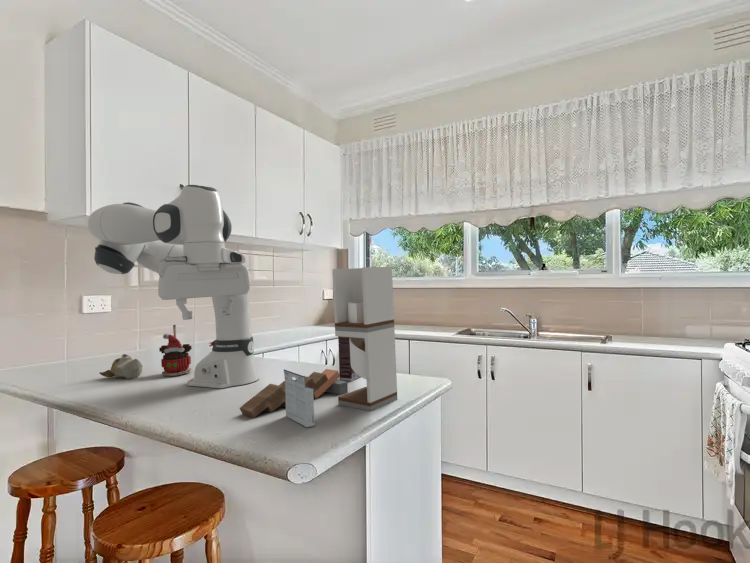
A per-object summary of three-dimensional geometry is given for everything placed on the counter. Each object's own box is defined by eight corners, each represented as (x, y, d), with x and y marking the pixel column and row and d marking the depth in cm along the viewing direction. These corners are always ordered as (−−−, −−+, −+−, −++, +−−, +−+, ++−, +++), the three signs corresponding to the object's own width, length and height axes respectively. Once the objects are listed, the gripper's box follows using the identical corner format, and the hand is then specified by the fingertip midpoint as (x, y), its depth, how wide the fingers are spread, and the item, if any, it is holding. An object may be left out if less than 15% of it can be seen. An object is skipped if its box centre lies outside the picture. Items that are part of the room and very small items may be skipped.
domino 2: (268, 406, 109) (297, 382, 115) (256, 403, 112) (285, 379, 119) (271, 412, 109) (300, 388, 116) (260, 409, 113) (288, 385, 119)
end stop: (339, 394, 123) (339, 384, 123) (316, 389, 130) (316, 379, 130) (347, 392, 125) (347, 381, 125) (324, 387, 132) (324, 377, 132)
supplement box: (352, 381, 137) (349, 331, 137) (339, 380, 140) (336, 330, 139) (365, 375, 145) (363, 327, 145) (353, 374, 147) (351, 327, 147)
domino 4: (300, 396, 116) (325, 373, 122) (288, 394, 119) (313, 371, 126) (303, 402, 117) (328, 379, 123) (291, 399, 120) (316, 377, 126)
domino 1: (250, 411, 105) (281, 386, 112) (239, 407, 108) (270, 383, 115) (253, 418, 106) (284, 392, 112) (242, 414, 109) (273, 389, 116)
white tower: (366, 393, 123) (360, 268, 122) (397, 399, 116) (391, 266, 116) (338, 404, 114) (332, 269, 113) (370, 411, 107) (364, 267, 106)
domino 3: (285, 401, 112) (312, 377, 119) (273, 398, 116) (300, 375, 122) (288, 407, 113) (314, 383, 120) (276, 404, 116) (303, 381, 123)
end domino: (313, 393, 119) (337, 370, 126) (302, 390, 123) (326, 368, 129) (316, 398, 120) (340, 376, 126) (304, 396, 123) (328, 374, 130)
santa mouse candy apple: (195, 370, 165) (193, 322, 165) (188, 376, 156) (186, 325, 156) (165, 372, 164) (163, 324, 163) (156, 378, 154) (154, 327, 154)
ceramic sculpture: (121, 356, 150) (96, 357, 157) (123, 382, 150) (97, 381, 157) (150, 351, 159) (125, 352, 167) (152, 375, 159) (126, 375, 166)
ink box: (316, 426, 98) (313, 374, 98) (306, 428, 97) (304, 376, 97) (294, 414, 108) (291, 367, 107) (285, 416, 106) (282, 368, 106)
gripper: (163, 255, 90) (166, 323, 90) (251, 255, 105) (254, 313, 105) (151, 257, 94) (154, 321, 95) (237, 257, 109) (240, 312, 110)
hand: (207, 317), depth 100 cm, fingers open, 8 cm apart
